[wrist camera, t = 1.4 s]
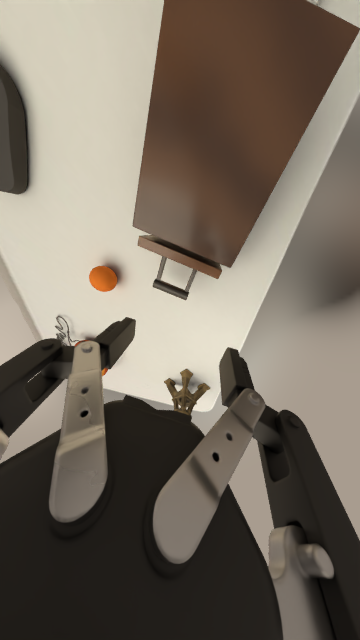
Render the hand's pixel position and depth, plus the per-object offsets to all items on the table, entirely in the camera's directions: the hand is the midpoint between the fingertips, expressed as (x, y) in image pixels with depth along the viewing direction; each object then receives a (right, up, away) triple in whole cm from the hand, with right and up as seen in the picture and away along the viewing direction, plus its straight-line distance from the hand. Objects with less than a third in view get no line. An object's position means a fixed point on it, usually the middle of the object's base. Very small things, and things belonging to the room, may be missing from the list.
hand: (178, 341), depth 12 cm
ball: (-15, +10, +17) cm, 25 cm away
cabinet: (+5, +22, +9) cm, 24 cm away
